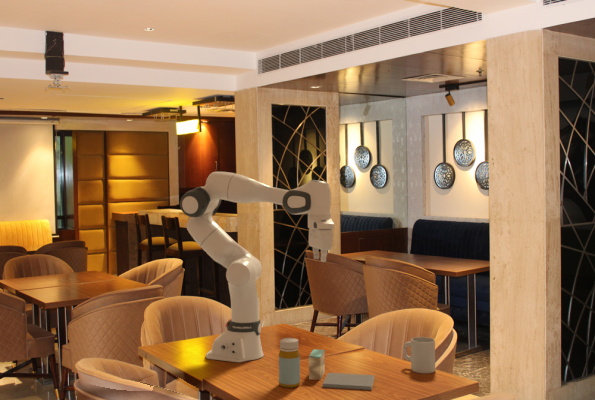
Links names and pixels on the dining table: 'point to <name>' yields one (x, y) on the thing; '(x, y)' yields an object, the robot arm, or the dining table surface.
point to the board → (349, 381)
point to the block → (316, 364)
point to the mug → (421, 354)
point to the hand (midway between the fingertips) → (319, 260)
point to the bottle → (289, 363)
